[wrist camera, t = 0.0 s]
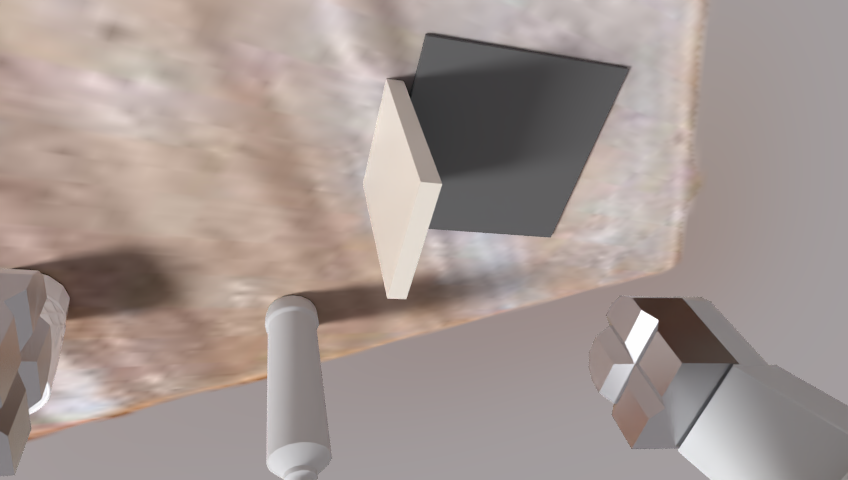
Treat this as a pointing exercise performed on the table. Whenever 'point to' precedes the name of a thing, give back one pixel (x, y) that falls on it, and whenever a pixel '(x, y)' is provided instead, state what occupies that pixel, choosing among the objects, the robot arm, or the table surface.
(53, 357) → the white cup
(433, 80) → the mat
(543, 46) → the table surface
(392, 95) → the tile
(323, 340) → the table surface
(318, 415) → the bottle
